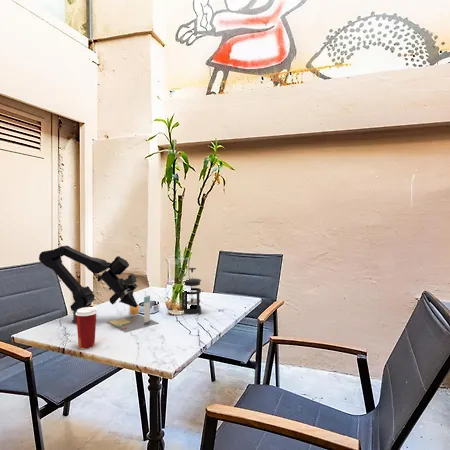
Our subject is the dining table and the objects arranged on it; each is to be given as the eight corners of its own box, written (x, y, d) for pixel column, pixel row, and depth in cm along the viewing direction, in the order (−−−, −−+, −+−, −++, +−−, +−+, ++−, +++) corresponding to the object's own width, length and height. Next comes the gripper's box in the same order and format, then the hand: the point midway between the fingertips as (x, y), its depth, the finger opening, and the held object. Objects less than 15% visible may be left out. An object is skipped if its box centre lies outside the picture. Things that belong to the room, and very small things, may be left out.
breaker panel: (125, 334, 142) (125, 331, 142) (105, 324, 154) (105, 321, 154) (159, 325, 154) (159, 322, 154) (138, 316, 166) (138, 313, 166)
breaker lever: (144, 322, 152) (144, 297, 152) (146, 319, 155) (146, 295, 155) (147, 322, 152) (147, 297, 151) (150, 320, 155) (150, 295, 155)
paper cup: (101, 343, 132) (101, 307, 131) (87, 351, 124) (87, 313, 124) (85, 340, 134) (85, 305, 134) (70, 348, 127) (70, 311, 126)
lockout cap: (132, 316, 165) (132, 306, 165) (128, 314, 169) (128, 304, 168) (140, 315, 169) (140, 305, 168) (136, 313, 172) (135, 303, 171)
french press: (193, 309, 179) (193, 265, 178) (206, 312, 173) (206, 267, 172) (176, 314, 170) (176, 268, 169) (189, 318, 164) (189, 270, 163)
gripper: (116, 273, 145) (141, 300, 144) (133, 266, 163) (155, 290, 162) (98, 291, 146) (123, 317, 145) (118, 282, 165) (140, 305, 164)
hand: (136, 306), depth 154 cm, fingers closed
